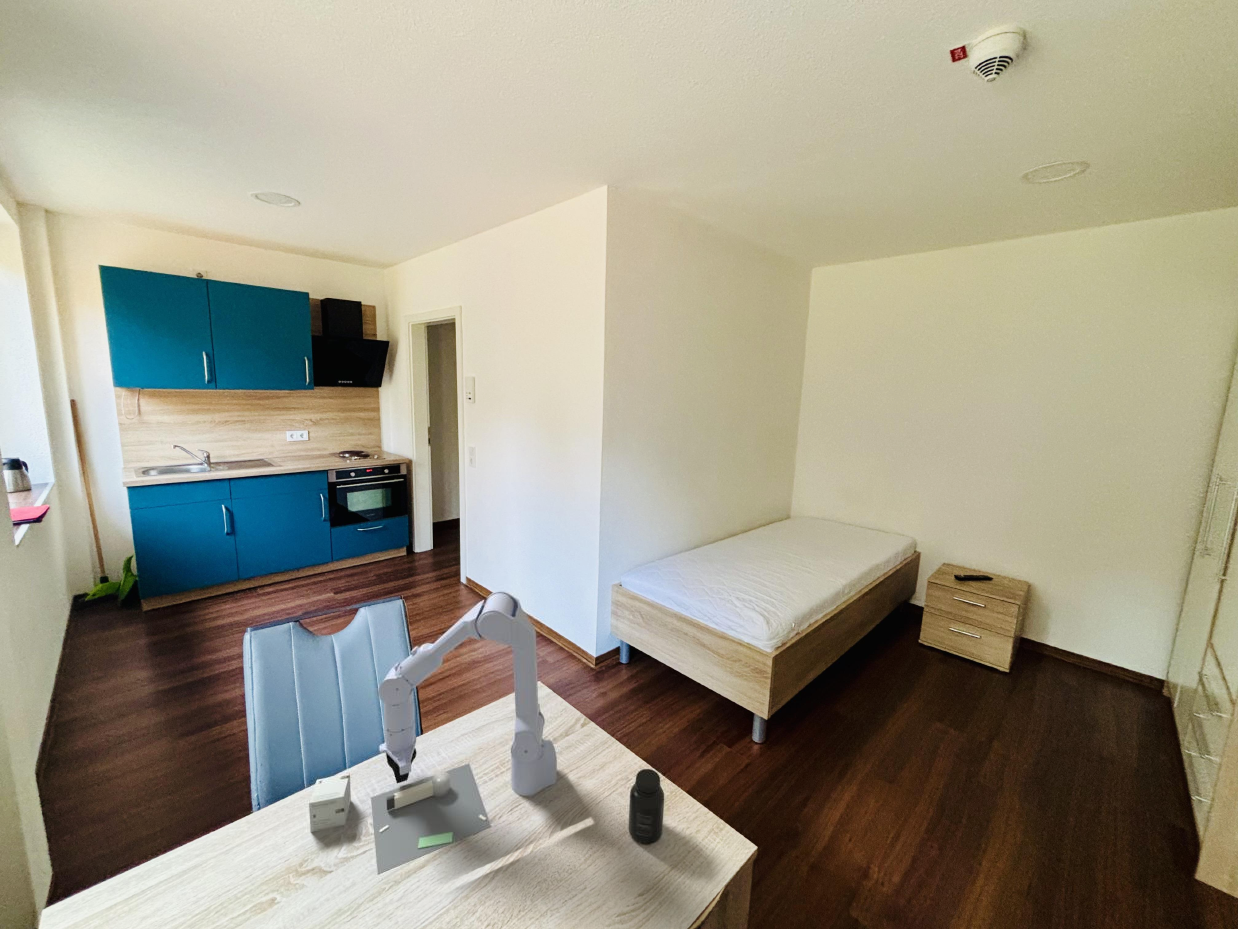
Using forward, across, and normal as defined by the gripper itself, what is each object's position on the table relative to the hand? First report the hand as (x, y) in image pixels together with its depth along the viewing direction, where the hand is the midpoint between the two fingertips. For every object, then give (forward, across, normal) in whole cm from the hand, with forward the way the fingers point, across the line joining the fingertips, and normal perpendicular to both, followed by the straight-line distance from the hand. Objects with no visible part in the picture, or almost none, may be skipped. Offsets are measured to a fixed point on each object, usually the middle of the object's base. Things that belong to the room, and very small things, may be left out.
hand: (402, 779), depth 104 cm
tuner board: (+2, +10, +4) cm, 11 cm away
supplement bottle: (+2, +33, +40) cm, 52 cm away
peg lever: (+1, +6, +3) cm, 6 cm away
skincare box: (+2, +1, -13) cm, 13 cm away
